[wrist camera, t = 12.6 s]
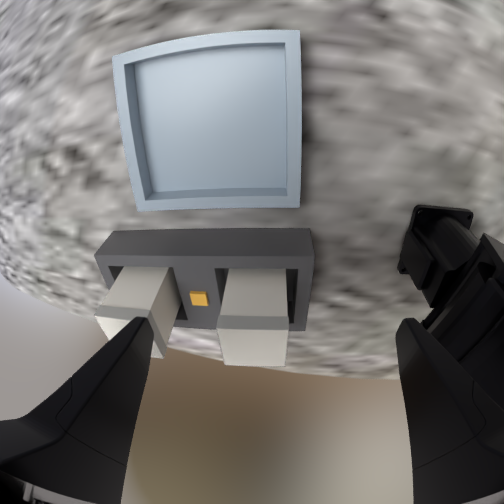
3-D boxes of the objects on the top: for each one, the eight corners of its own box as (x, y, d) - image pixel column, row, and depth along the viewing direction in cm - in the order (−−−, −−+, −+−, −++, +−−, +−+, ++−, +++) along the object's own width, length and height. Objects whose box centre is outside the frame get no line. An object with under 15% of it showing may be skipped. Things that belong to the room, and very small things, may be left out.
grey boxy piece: (309, 228, 20) (324, 308, 14) (302, 301, 25) (308, 378, 18) (113, 231, 21) (65, 294, 15) (137, 295, 26) (107, 360, 19)
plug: (175, 254, 21) (145, 321, 15) (185, 292, 24) (163, 358, 18) (131, 254, 22) (93, 315, 16) (144, 290, 24) (116, 351, 18)
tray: (296, 36, 12) (299, 30, 11) (297, 195, 19) (299, 207, 17) (126, 57, 13) (112, 56, 12) (148, 199, 20) (137, 211, 18)
